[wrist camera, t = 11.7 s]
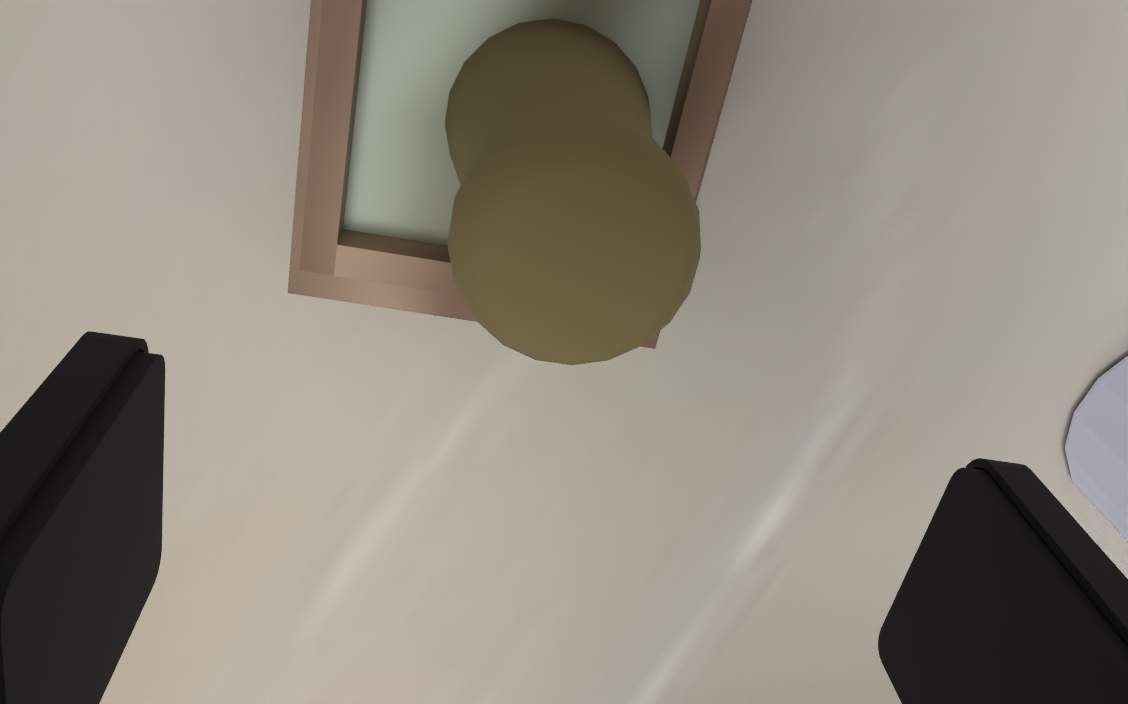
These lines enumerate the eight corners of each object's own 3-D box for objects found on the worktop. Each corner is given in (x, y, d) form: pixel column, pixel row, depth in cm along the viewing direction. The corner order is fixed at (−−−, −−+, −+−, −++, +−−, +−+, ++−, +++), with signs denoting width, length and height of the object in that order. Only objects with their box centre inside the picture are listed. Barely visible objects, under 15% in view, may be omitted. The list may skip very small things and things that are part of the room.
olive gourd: (443, 14, 26) (417, 111, 16) (659, 21, 27) (758, 120, 17) (446, 223, 29) (425, 410, 19) (642, 225, 30) (719, 410, 20)
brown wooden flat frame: (754, -112, 28) (798, -105, 24) (642, 310, 34) (662, 370, 30) (344, -208, 26) (318, -218, 22) (303, 256, 33) (278, 313, 29)
